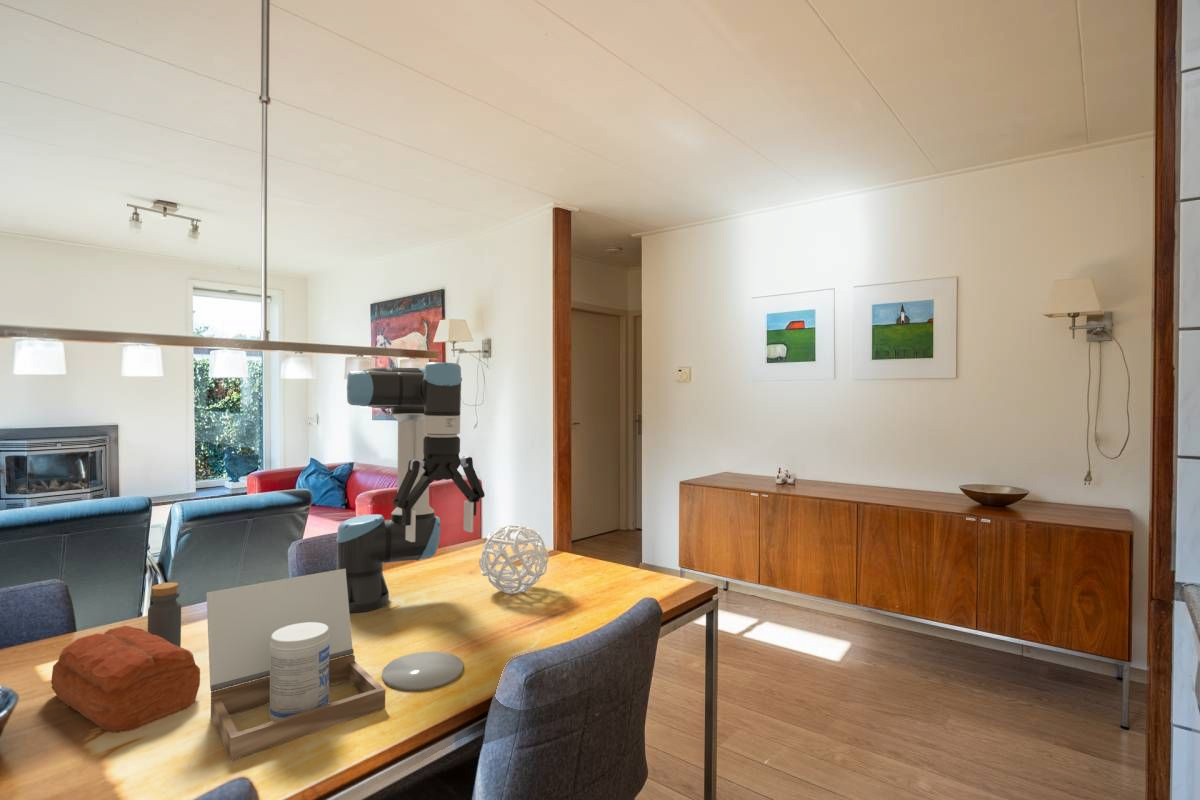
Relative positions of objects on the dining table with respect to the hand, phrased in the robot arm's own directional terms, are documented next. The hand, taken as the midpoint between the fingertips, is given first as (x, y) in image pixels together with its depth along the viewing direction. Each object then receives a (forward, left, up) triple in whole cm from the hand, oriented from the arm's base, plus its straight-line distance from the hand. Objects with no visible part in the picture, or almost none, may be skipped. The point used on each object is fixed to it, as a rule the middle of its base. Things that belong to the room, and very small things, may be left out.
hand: (440, 536), depth 128 cm
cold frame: (+2, -28, -27) cm, 39 cm away
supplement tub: (+2, -28, -28) cm, 39 cm away
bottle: (-42, -43, -28) cm, 66 cm away
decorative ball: (-30, +39, -28) cm, 56 cm away
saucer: (+1, -4, -27) cm, 28 cm away
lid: (-8, -28, -14) cm, 32 cm away
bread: (-24, -51, -28) cm, 62 cm away
